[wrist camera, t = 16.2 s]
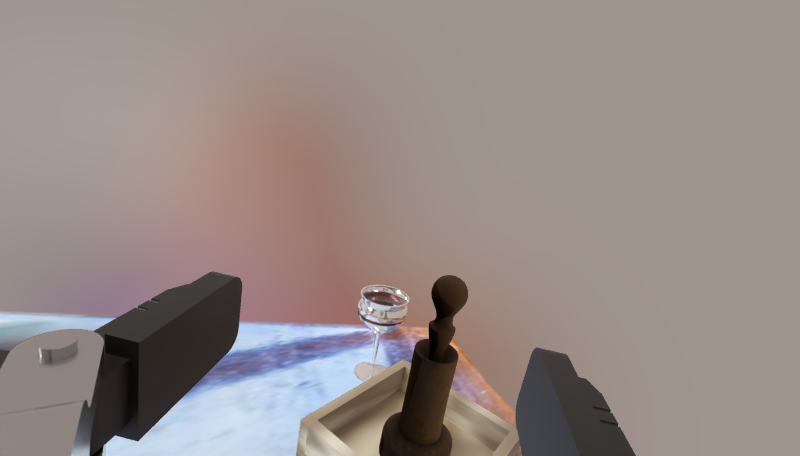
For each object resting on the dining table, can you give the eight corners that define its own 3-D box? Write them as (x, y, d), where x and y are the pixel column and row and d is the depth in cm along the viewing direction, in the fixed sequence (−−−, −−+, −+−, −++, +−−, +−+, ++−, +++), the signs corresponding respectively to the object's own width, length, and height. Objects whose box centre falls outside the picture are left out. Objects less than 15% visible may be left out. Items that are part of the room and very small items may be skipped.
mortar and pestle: (428, 423, 42) (465, 263, 37) (461, 475, 36) (509, 294, 32) (368, 434, 39) (401, 262, 34) (395, 492, 33) (438, 296, 29)
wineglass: (404, 380, 56) (419, 303, 53) (362, 392, 52) (377, 310, 49) (378, 354, 62) (392, 282, 59) (339, 363, 58) (351, 287, 55)
